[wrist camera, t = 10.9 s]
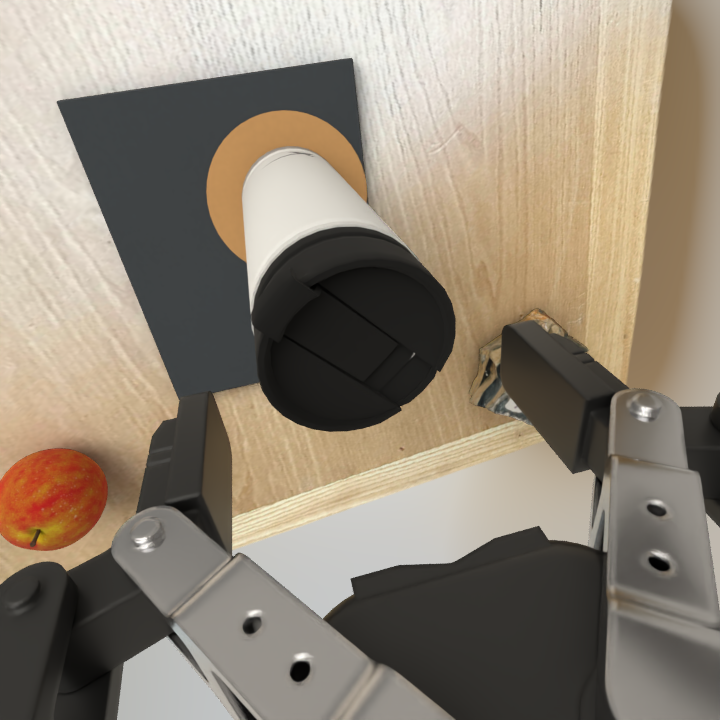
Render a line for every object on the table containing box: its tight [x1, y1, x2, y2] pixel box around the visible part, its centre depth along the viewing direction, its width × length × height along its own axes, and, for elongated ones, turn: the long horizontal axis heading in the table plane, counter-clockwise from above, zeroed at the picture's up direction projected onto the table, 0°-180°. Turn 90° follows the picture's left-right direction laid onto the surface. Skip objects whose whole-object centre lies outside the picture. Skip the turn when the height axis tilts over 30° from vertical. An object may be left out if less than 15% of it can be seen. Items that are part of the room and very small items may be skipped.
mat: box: [57, 58, 368, 400], centre depth 32 cm, size 20×16×1 cm
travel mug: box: [242, 146, 455, 432], centre depth 22 cm, size 6×7×20 cm
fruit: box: [0, 449, 108, 551], centre depth 35 cm, size 7×7×8 cm
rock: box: [469, 308, 588, 426], centre depth 40 cm, size 9×9×6 cm
